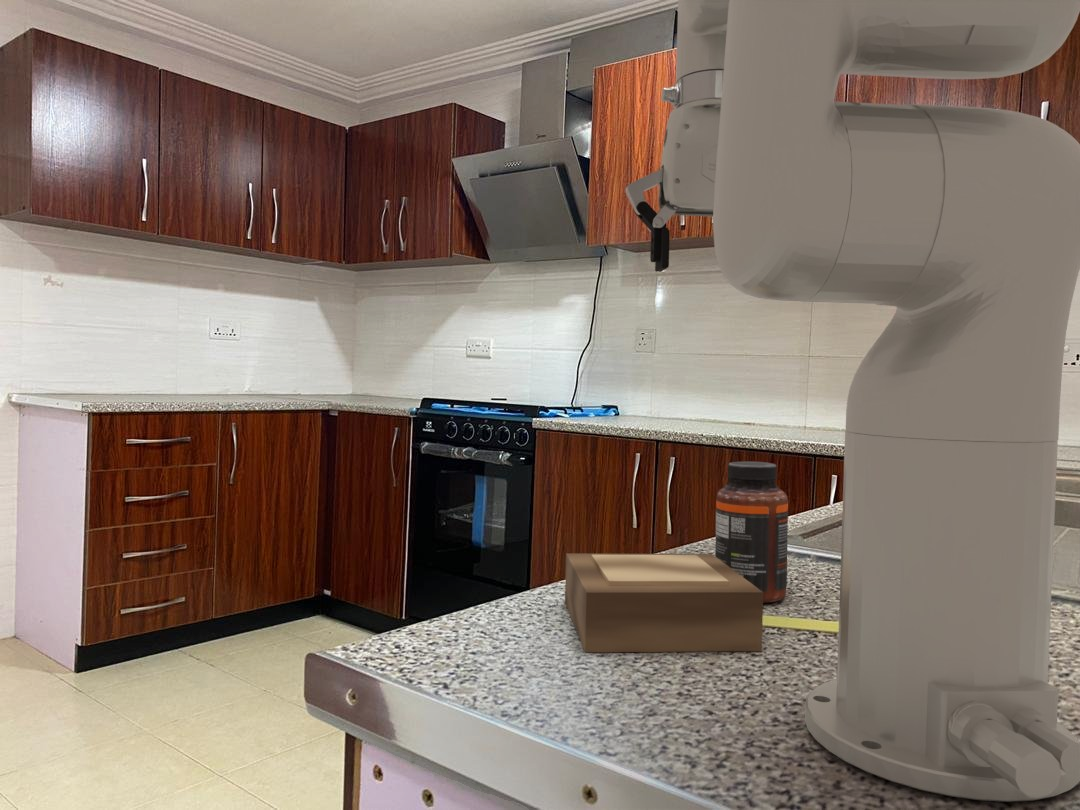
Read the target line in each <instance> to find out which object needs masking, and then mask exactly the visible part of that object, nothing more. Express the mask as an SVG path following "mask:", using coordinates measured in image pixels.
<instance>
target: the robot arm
mask: <svg viewBox="0 0 1080 810" xmlns="http://www.w3.org/2000/svg"><path fill="white" fill-rule="evenodd" d="M677 1H678V2H677V31H676V33H677V35H676V68H675V70H676V71H675V74H676V75H675V84H674V85H673V86H670V87H662V90H661V102H667V103H669V104H671V106H672V107H673V110H671V111H670V113H669V116H668V118H667V119H668V120H667V122H666V123H667V124H666V128H665V133H664V139H663V144H662V145H663V146H662V153H661V162H660V169H658V170H655V171H654V172H651V173H649V174H647V175H645V176H643V177H641V178H639V179H636V180H634V181H632V182H630V183H629V184H628V185H627V186H626V188H625V194H626V196H627V198H628V201H629V203H630V204H631V206H632V208H633V212H634V214H635V216H637V218H638V219H639V220H640V221H641V222H642V223H643V224H644V225H645V227H646V228H647V230H648V231H649V232H650V255H649V256H650V257H649V258H650V259H649V260H650V262H651V263H654V266H655V267H654V271H655V272H659V273H660V272H663V271H665V270H667V269H668V268H669V265H670V235H671V233H670V229H669V227H667V222H668V221H669V220H670V219H671V218H672V217H673V215H675V216H685V217H686V216H689V217H690V216H691V217H712V229H713V231H712V232H713V245H714V251H715V257H716V259H717V260H716V261H717V263H718V267H719V269H720V271H721V273H722V276H723V277H724V278H725V279H726V280H727V282H728V283H729V284H730V285H731V286H733V288H735V289H736V290H737V291H739V292H741V293H743V294H745V295H747V296H751V297H754V298H758V299H764V300H770V301H783V302H786V301H788V302H803V303H804V302H805V303H806V302H807V303H835V304H837V303H838V304H839V303H840V304H866V305H867V304H868V305H870V304H871V305H872V304H873V305H874V304H875V305H877V306H878V305H879V306H885V307H886V306H889V307H896V310H895V313H894V315H893V317H892V318H891V320H890V322H889V323H888V324H887V326H886V327H885V328H884V329H883V331H882V332H881V334H880V336H879V337H878V338H877V340H876V341H875V342H874V344H873V345H872V346H871V347H870V348H869V350H868V351H867V353H866V354H865V356H864V358H863V359H862V360H861V362H860V364H859V366H858V368H857V370H856V371H855V373H854V376H853V378H852V381H851V383H850V386H849V390H848V396H847V400H846V402H847V403H846V410H845V411H846V412H845V430H844V450H843V451H844V452H843V453H844V456H843V482H842V483H843V484H842V485H843V486H842V487H843V488H842V516H841V543H840V577H839V578H840V579H839V603H838V604H839V605H838V607H839V609H838V637H837V638H838V639H837V640H838V641H837V665H836V666H837V667H836V669H837V670H836V673H837V674H836V679H831V680H829V681H827V682H824V683H822V684H820V685H818V686H816V687H815V688H814V689H812V690H811V691H810V692H809V693H808V694H807V696H806V697H805V704H804V709H805V710H804V721H805V724H806V728H807V730H808V731H809V733H810V734H811V736H812V737H813V739H814V740H816V742H817V743H819V744H820V745H821V746H823V748H825V749H826V750H827V751H828V752H830V753H832V754H833V756H834V755H835V756H836V757H837V758H839V759H841V760H842V761H844V762H845V763H848V764H850V765H852V766H854V767H856V768H857V769H860V770H862V771H864V772H866V773H869V774H871V775H874V776H876V777H879V778H882V779H885V780H887V781H890V782H892V783H896V784H899V785H903V786H907V787H909V788H914V789H916V790H919V791H924V792H930V793H933V794H939V795H944V796H948V797H955V798H962V799H967V800H968V799H969V800H976V801H988V802H989V801H990V802H991V801H992V802H1005V803H1006V802H1008V803H1009V802H1011V803H1012V802H1025V801H1026V802H1029V801H1037V800H1043V799H1048V798H1053V797H1056V796H1059V795H1060V794H1064V793H1066V792H1068V791H1070V790H1072V789H1073V788H1075V787H1076V786H1077V785H1078V784H1079V783H1080V741H1079V739H1078V738H1077V737H1076V736H1075V735H1074V734H1072V732H1071V731H1069V729H1068V728H1067V727H1065V725H1063V724H1061V723H1059V722H1058V712H1059V710H1058V709H1059V688H1057V687H1055V686H1053V685H1051V684H1049V683H1048V682H1049V681H1048V680H1049V661H1050V659H1049V658H1050V656H1049V655H1050V638H1051V637H1050V633H1051V611H1052V610H1051V609H1052V592H1053V591H1052V590H1053V589H1052V588H1053V587H1052V586H1053V585H1052V584H1053V567H1054V566H1053V563H1054V561H1053V560H1054V543H1055V542H1054V539H1055V538H1054V537H1055V536H1054V535H1055V517H1056V515H1055V513H1056V494H1057V493H1056V491H1057V489H1056V488H1057V471H1058V470H1057V468H1058V467H1057V464H1058V463H1057V462H1058V441H1059V436H1060V435H1059V431H1060V414H1061V413H1060V410H1061V408H1060V407H1061V391H1062V390H1061V389H1062V378H1063V375H1062V374H1063V365H1064V364H1063V362H1064V354H1065V346H1066V345H1065V344H1066V338H1067V330H1068V325H1069V324H1068V323H1069V318H1070V312H1071V307H1072V302H1073V297H1074V293H1075V289H1076V285H1077V280H1078V277H1079V272H1080V143H1079V141H1077V140H1076V138H1074V137H1073V135H1071V134H1070V133H1069V132H1067V131H1066V130H1065V129H1063V128H1061V127H1060V126H1059V125H1057V124H1056V123H1053V122H1050V121H1049V120H1047V119H1044V118H1041V117H1039V116H1035V115H1032V114H1027V113H1023V112H1019V111H1017V110H1016V111H1014V110H1009V109H1002V108H1001V109H999V108H993V107H991V108H990V107H979V106H977V107H976V106H965V105H964V106H961V105H941V104H923V103H903V104H893V103H872V102H855V101H854V102H853V101H851V102H850V101H835V98H836V93H837V88H838V84H839V80H840V76H841V75H856V76H875V77H876V76H877V77H893V78H894V77H896V78H911V79H914V78H916V79H932V80H933V79H937V80H938V79H939V80H941V79H942V80H982V79H997V78H998V79H999V78H1004V77H1009V76H1013V75H1017V74H1021V73H1025V72H1027V71H1029V70H1031V69H1034V68H1036V67H1037V66H1039V65H1041V64H1042V63H1044V62H1046V61H1047V60H1049V59H1050V58H1051V57H1052V56H1053V55H1054V54H1055V53H1056V52H1058V50H1060V48H1061V47H1062V46H1063V45H1064V43H1065V41H1066V40H1067V38H1068V37H1069V35H1070V33H1071V32H1072V30H1073V28H1074V27H1075V24H1076V22H1077V20H1078V17H1079V15H1080V0H677ZM657 186H658V204H659V208H660V209H659V210H658V211H657V212H656V211H655V210H654V208H652V207H651V205H650V204H649V203H648V201H647V200H646V197H645V196H644V192H646V191H648V190H650V189H653V188H655V187H657Z"/></svg>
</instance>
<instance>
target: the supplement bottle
mask: <svg viewBox="0 0 1080 810" xmlns="http://www.w3.org/2000/svg"><path fill="white" fill-rule="evenodd" d="M727 465H728V467H727V478H728V482H727V483H726V484H725V485H724V487H722V488H720V489H719V490H718V491H717V494H716V500H715V502H716V503H715V505H716V509H715V549H714V550H715V553H714V556H715V557H717V558H718V559H719V560H721V561H722V562H723V563H725V564H726V565H727V566H729V567H730V568H731V569H733V570H734V571H735V572H737V573H738V574H739V575H741V576H742V577H743V578H745V579H746V580H747V581H749V582H750V583H752V584H753V585H754V586H756V587H757V588H758V589H760V590H761V591H762V592H763V604H771V603H777V602H779V601H780V600H783V598H785V597H786V596H787V586H788V582H787V581H788V543H789V542H788V540H789V539H788V528H789V527H788V525H789V498H788V495H787V494H786V492H785V491H783V490H782V489H781V488H780V487H779V486H778V485H777V483H776V480H777V479H778V476H777V475H778V474H777V473H778V472H777V467H778V466H777V464H775V463H772V462H771V463H770V462H767V461H766V462H764V461H732V462H729V463H728V464H727Z"/></svg>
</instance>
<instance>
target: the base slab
mask: <svg viewBox="0 0 1080 810" xmlns="http://www.w3.org/2000/svg"><path fill="white" fill-rule="evenodd" d="M564 583H565V587H564V588H565V590H564V593H565V594H564V604H565V606H566V608H567V611H568V614H569V616H570V618H571V620H572V623H573V626H574V628H575V631H576V633H577V635H578V638H579V641H580V643H581V645H582V648H583V651H584V653H654V652H655V653H661V652H662V653H666V652H667V653H668V652H669V653H670V652H671V653H674V652H681V653H682V652H684V653H685V652H689V653H690V652H695V653H696V652H697V653H698V652H763V651H762V647H763V646H762V645H763V619H764V617H763V616H764V615H763V614H764V613H763V612H764V603H763V592H762V591H761V590H760V589H758V588H757V587H756V586H754V585H753V584H752V583H750V582H749V581H747V580H746V579H745V578H743V577H742V576H741V575H739V574H738V573H737V572H735V571H734V570H733V569H731V568H730V567H729V566H727V565H726V564H725V563H723V562H722V561H721V560H719V559H718V558H717V557H715V554H713V553H572V552H571V553H568V552H567V553H565V582H564Z"/></svg>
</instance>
